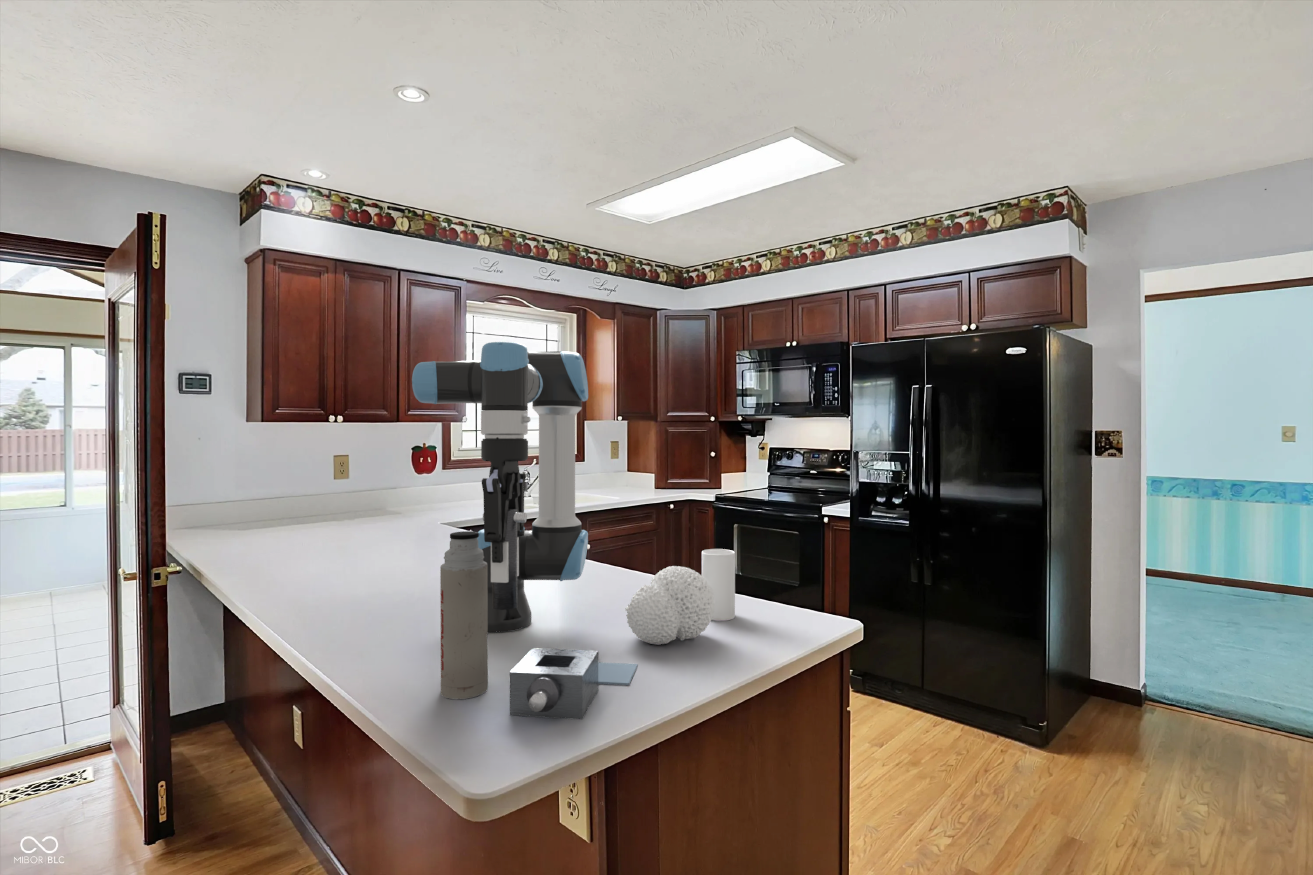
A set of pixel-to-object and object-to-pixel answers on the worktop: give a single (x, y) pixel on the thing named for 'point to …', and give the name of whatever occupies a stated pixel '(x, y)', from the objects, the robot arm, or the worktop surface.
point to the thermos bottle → (464, 618)
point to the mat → (615, 673)
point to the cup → (720, 581)
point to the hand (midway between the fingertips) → (505, 578)
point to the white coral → (671, 606)
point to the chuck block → (554, 683)
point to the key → (509, 566)
